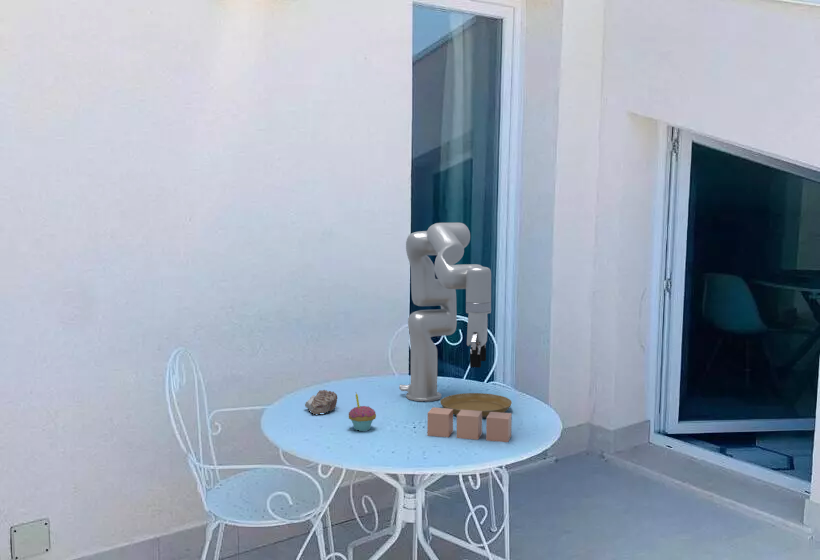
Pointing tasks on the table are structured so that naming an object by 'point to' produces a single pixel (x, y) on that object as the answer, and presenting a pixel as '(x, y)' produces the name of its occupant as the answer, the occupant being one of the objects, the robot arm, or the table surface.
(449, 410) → the peach toy brick
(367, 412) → the cupcake
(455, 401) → the plant saucer
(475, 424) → the toy block
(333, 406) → the seashell
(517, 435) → the table surface
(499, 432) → the salmon orange block
